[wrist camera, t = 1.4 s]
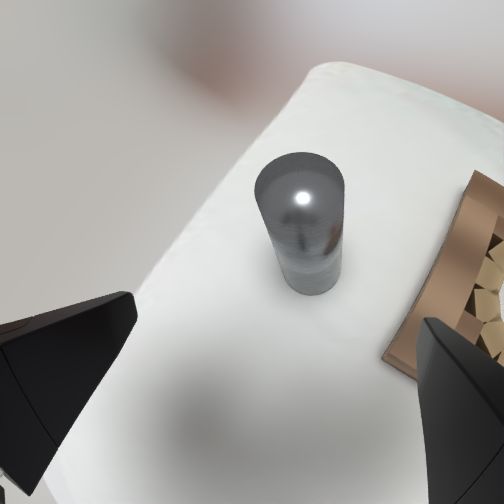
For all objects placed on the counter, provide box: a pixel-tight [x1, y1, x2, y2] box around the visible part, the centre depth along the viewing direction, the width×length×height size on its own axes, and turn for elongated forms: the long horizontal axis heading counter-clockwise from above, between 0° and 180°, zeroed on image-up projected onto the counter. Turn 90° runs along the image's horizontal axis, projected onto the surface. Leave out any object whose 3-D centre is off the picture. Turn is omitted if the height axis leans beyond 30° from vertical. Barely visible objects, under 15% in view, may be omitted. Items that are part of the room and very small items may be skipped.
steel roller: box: [254, 152, 344, 295], centre depth 19 cm, size 4×4×10 cm
